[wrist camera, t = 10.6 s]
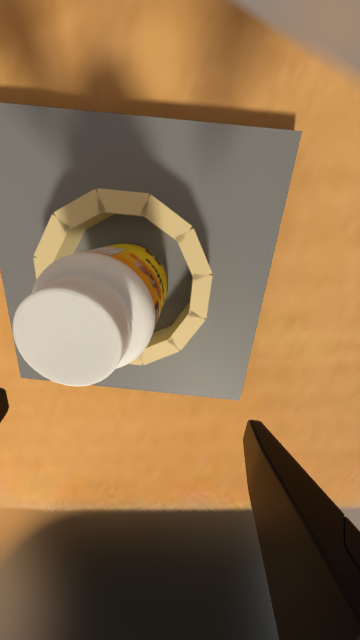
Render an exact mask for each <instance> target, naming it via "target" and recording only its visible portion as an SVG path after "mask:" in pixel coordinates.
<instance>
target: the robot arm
mask: <svg viewBox="0 0 360 640" xmlns="http://www.w3.org/2000/svg"><path fill="white" fill-rule="evenodd" d="M8 409H9V404H8V399H7V394H6V391H5V389H3V388H0V422H1V421H2V419H3V418H4V416H5V415H6V413H7V411H8ZM243 445H244V455H245V464H246V474H247V483H248V491H249V496H250V501H251V506H252V511H253V516H254V520H255V525H256V530H257V535H258V540H259V544H260V549H261V554H262V559H263V564H264V569H265V574H266V578H267V583H268V588H269V593H270V598H271V603H272V608H273V612H274V617H275V622H276V627H277V632H278V636H279V640H360V531H359V530H358V529H357V528H356V527H355V526H354V524H353V523H352V522H351V521H350V520H349V519H348V518H347V517H344V514H343V512H342V511H341V510H340V509H339V508H338V507H337V506H336V505H335V503H334V502H333V501H332V500H331V499H330V498H329V497H328V496H327V495H326V493H325V492H324V491H323V490H322V489H321V488H320V487H319V486H318V485H317V483H316V482H315V481H314V480H313V479H312V478H311V477H310V476H309V475H308V473H307V472H306V471H305V470H304V469H303V468H302V467H301V466H300V465H299V463H298V462H297V461H296V460H295V459H294V458H293V457H292V456H291V455H290V453H289V452H288V451H287V450H286V449H285V448H284V447H283V446H282V445H281V443H280V442H279V441H278V440H277V439H276V438H275V437H274V436H273V435H272V433H271V432H270V431H269V430H268V429H267V428H266V427H265V426H264V425H263V423H262V422H260V421H257V420H249V421H248V422H247V426H246V429H245V433H244V437H243Z"/></svg>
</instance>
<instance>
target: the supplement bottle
mask: <svg viewBox="0 0 360 640" xmlns="http://www.w3.org/2000/svg"><path fill="white" fill-rule="evenodd" d="M167 292H168V276H167V272H166V270H165V267H164V265H163V263H162V262H161V260H160V259H159V258H158V257H157V256H156V255H155V254H154V253H153V252H152V251H151V250H149V249H148V248H146V247H144V246H141V245H138V244H134V243H120V244H115V245H111V246H106V247H102V248H97V249H93V250H88V251H84V252H79V253H75V254H71V255H68V256H65V257H62V258H60V259H58V260H56V261H54V262H53V263H52V264H50V265H49V266H48V267H47V268H46V269H44V271H43V272H42V273H41V274H40V276H39V277H38V279H37V280H36V282H35V284H34V287H33V290H32V293H31V294H29V295H28V296H27V297H26V298H24V299H23V300H22V302H21V303H20V304H19V306H18V307H17V309H16V311H15V315H14V319H13V336H14V341H15V343H16V346H17V348H18V350H19V352H20V354H21V355H22V357H23V358H24V360H25V361H26V362H27V363H28V364H29V365H30V366H31V367H32V368H33V369H34V370H35V371H37V372H38V373H39V374H41V375H42V376H44V377H45V378H47V379H49V380H51V381H54V382H56V383H59V384H63V385H68V386H87V385H92V384H95V383H98V382H100V381H102V380H103V379H105V378H107V377H108V376H109V375H110V374H111V373H112V372H113V371H114V370H115V369H117V368H120V367H123V366H125V365H127V364H129V363H130V362H132V361H133V360H135V359H136V358H137V357H138V356H139V355H140V354H141V353H142V352H143V351H144V350H145V348H146V347H147V345H148V343H149V342H150V340H151V337H152V335H153V332H154V329H155V327H156V324H157V321H158V318H159V316H160V313H161V310H162V307H163V304H164V301H165V299H166V296H167Z"/></svg>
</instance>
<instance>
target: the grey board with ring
mask: <svg viewBox="0 0 360 640" xmlns="http://www.w3.org/2000/svg"><path fill="white" fill-rule="evenodd" d="M301 133H302V131H295V130H285V129H274V128H264V127H253V126H243V125H232V124H222V123H211V122H201V121H190V120H180V119H169V118H159V117H148V116H138V115H127V114H117V113H107V112H96V111H86V110H75V109H65V108H54V107H44V106H33V105H23V104H12V103H2V102H0V269H1V275H2V280H3V285H4V291H5V296H6V301H7V306H8V312H9V317H10V322H11V328H12V333H13V319H14V315H15V311H16V309H17V307H18V306H19V304H20V303H21V302H22V300H23V299H24V298H26V297H27V296H28V295H29V294H31V293H32V290H33V287H34V284H35V282H36V280H37V279H38V277H39V276H40V274H41V273H42V272H43V271H44V269H46V268H47V267H48V266H49V265H50V264H52V263H53V262H54V261H56V260H58V259H60V258H62V257H65V256H68V255H71V254H75V253H79V252H84V251H88V250H93V249H97V248H102V247H106V246H111V245H115V244H120V243H134V244H138V245H141V246H144V247H146V248H148V249H149V250H151V251H152V252H153V253H154V254H155V255H156V256H157V257H158V258H159V259H160V260H161V262H162V263H163V265H164V267H165V270H166V272H167V276H168V292H167V296H166V299H165V301H164V304H163V307H162V310H161V313H160V316H159V318H158V321H157V324H156V327H155V329H154V332H153V335H152V337H151V340H150V342H149V343H148V345H147V347H146V348H145V350H144V351H143V352H142V353H141V354H140V355H139V356H138V357H137V358H136V359H135V360H133V361H132V362H130V363H129V364H127V365H125V366H123V367H120V368H117V369H115V370H114V371H113V372H112V373H111V374H110V375H109V376H108V377H107V378H105V379H103V380H102V381H100V382H98V383H95V384H92V385H96V386H105V387H115V388H124V389H134V390H143V391H153V392H162V393H172V394H181V395H191V396H201V397H210V398H220V399H229V400H239V401H240V397H241V392H242V388H243V384H244V379H245V375H246V371H247V366H248V362H249V358H250V353H251V349H252V345H253V341H254V336H255V332H256V328H257V323H258V319H259V315H260V310H261V306H262V302H263V297H264V293H265V289H266V284H267V280H268V276H269V271H270V267H271V263H272V258H273V254H274V250H275V246H276V241H277V237H278V233H279V228H280V224H281V220H282V215H283V211H284V207H285V202H286V198H287V194H288V189H289V185H290V181H291V176H292V172H293V168H294V163H295V159H296V155H297V151H298V146H299V142H300V138H301ZM13 338H14V336H13ZM14 343H15V341H14ZM15 349H16V354H17V359H18V365H19V370H20V375H21V378H29V379H38V380H48V381H51V380H49V379H47V378H45V377H44V376H42V375H41V374H39V373H38V372H37V371H35V370H34V369H33V368H32V367H31V366H30V365H29V364H28V363H27V362H26V361H25V360H24V358H23V357H22V355H21V354H20V352H19V350H18V348H17V346H16V343H15Z"/></svg>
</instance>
